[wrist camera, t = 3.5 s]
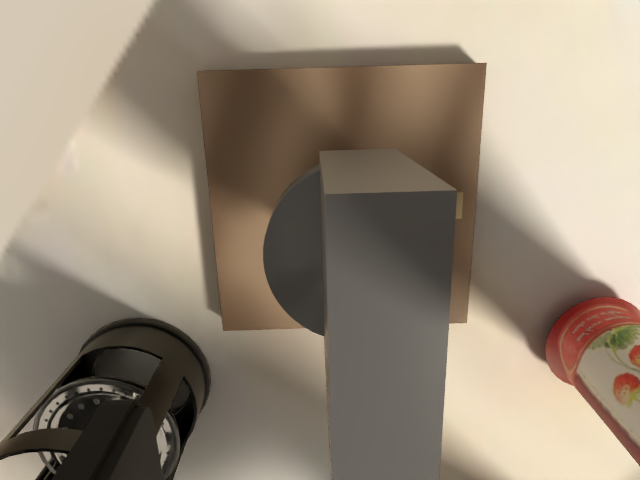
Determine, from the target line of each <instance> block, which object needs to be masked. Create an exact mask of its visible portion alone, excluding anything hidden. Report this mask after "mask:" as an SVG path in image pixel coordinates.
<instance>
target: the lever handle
mask: <svg viewBox="0 0 640 480" xmlns="http://www.w3.org/2000/svg"><path fill="white" fill-rule="evenodd" d="M319 163H320V164H317V165H315V166H314V167H312V168H310V169H308V170H306V171H305V172H304V173H302V174H301V175H299V176H298V177H297V178H296V179H295V180H294V181H293V182H292V183H291V184H290V185H289V186H288V187H287V188H286V190H285V191H284V192H283V193H282V195H281V196H280V198H279V200H278V201H277V203H276V205H275V207H274V210H273V212H272V215H271V218H270V221H269V224H268V227H267V230H266V234H265V238H264V245H263V264H264V271H265V275H266V278H267V282H268V284H269V287H270V289H271V291H272V293H273V295H274V297H275V298H276V300H277V302H278V303H279V304H280V306H281V307H282V308H283V309H284V311H285V312H286V313H287V314H288V315H289V316H290V317H291V318H293V319H294V320H295V321H296V322H298V323H299V324H300V325H302V326H303V327H305V328H307V329H309V330H311V331H312V332H315V333H317V334H320V335H322V336H324V345H325V368H326V388H327V408H328V428H329V448H330V468H331V480H439V472H440V457H441V441H442V425H443V409H444V393H445V378H446V362H447V346H448V330H449V314H450V299H451V283H452V267H453V251H454V236H455V220H456V204H457V190H456V189H455V188H453V187H452V186H450V185H449V184H447V183H446V182H444V181H443V180H441V179H440V178H438V177H437V176H435V175H434V174H432V173H431V172H429V171H428V170H426V169H425V168H423V167H422V166H420V165H419V164H417V163H416V162H414V161H413V160H411V159H410V158H408V157H407V156H405V155H404V154H402V153H401V152H399V151H398V150H396V149H366V150H332V151H319Z"/></svg>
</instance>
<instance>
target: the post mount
mask: <svg viewBox="0 0 640 480" xmlns="http://www.w3.org/2000/svg"><path fill="white" fill-rule="evenodd" d="M486 64H487V63H467V64H432V65H396V66H360V67H325V68H289V69H253V70H218V71H197V76H198V86H199V96H200V106H201V116H202V126H203V136H204V146H205V155H206V165H207V175H208V185H209V195H210V205H211V215H212V225H213V235H214V245H215V255H216V264H217V274H218V284H219V294H220V304H221V314H222V324H223V331H230V330H261V329H292V328H305V327H303V326H302V325H300V324H299V323H298V322H296V321H295V320H294V319H293V318H291V317H290V316H289V315H288V314H287V313H286V312H285V311H284V309H283V308H282V307H281V306H280V304H279V303H278V302H277V300H276V298H275V297H274V295H273V293H272V291H271V289H270V287H269V284H268V282H267V278H266V275H265V271H264V264H263V245H264V238H265V234H266V230H267V227H268V224H269V221H270V218H271V215H272V212H273V210H274V207H275V205H276V203H277V201H278V200H279V198H280V196H281V195H282V193H283V192H284V191H285V190H286V188H287V187H288V186H289V185H290V184H291V183H292V182H293V181H294V180H295V179H296V178H297V177H298V176H299V175H301V174H302V173H304V172H305V171H306V170H308V169H310V168H312V167H314V166H315V165H317V164H320V163H319V151H332V150H366V149H396V150H398V151H399V152H401V153H402V154H404V155H405V156H407V157H408V158H410V159H411V160H413V161H414V162H416V163H417V164H419V165H420V166H422V167H423V168H425V169H426V170H428V171H429V172H431V173H432V174H434V175H435V176H437V177H438V178H440V179H441V180H443V181H444V182H446V183H447V184H449V185H450V186H452V187H453V188H455V189H456V190H457V204H456V220H455V236H454V251H453V267H452V283H451V299H450V314H449V323H467V313H468V300H469V287H470V274H471V260H472V247H473V234H474V221H475V208H476V195H477V182H478V169H479V156H480V142H481V129H482V116H483V103H484V90H485V77H486Z"/></svg>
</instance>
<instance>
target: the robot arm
mask: <svg viewBox="0 0 640 480" xmlns="http://www.w3.org/2000/svg"><path fill="white" fill-rule="evenodd" d="M52 480H163V474H162V468H161V462H160V456H159V450H158V444H157V438H156V433H155V427H154V421H153V415H152V411H151V409H150V408H149V407H142V404H141V402H140V400H138V399H119V400H105V401H103V402H102V403H101V405H100V406H99V407H98V409H97V411H96V412H95V414H94V415H93V417H92V418H91V420H90V421H89V423H88V424H87V426H86V427H85V429H84V431H83V432H82V434H81V435H80V437H79V438H78V440H77V441H76V443H75V444H74V446H73V447H72V449H71V451H70V452H69V454H68V455H67V457H66V458H65V460H64V461H63V463H62V464H61V466H60V467H59V469H58V470H57V472H56V474H55V475H54V477H53V478H52Z"/></svg>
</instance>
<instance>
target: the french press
mask: <svg viewBox="0 0 640 480" xmlns="http://www.w3.org/2000/svg"><path fill="white" fill-rule="evenodd" d="M118 348H124V349H132V350H138V351H141V352H145V353H148V354H151V355H153V356H155V357H157V358H159V359H161V362H160V364H159V366H158V367H157V369H156V371H155V373H154V375H153V376H152V378H151V380H150V382H149V383H148V385H147V387H145V386H143V385H141V384H139V383H136V382H134V381H131V380H127V379H123V378H119V377H110V376H94V369H95V364H96V361H97V359H98V357H99V355H100V354H101V353H102V352H103V351H104V350H106V349H118ZM182 379H183V380H184V381H185V383H186V384H187V386H188V387H189V390H190V395H189V398H188V400H187V401H186V403H185V404H184V405H183V406H182V407H181V408H180V410H178V411H177V412H175V413H174V414H173V413H172V411H171V410H170V406H171V403H172V401H173V399H174V397H175V394H176V392H177V390H178V388H179V386H180V383H181V381H182ZM210 384H211V378H210V371H209V367H208V364H207V361H206V359H205V356H204V355H203V353H202V352H201V350H200V349H199V347H198V346H197V345H196V344H195V343H194V342H193V341H192V340H191V338H190V337H188V336H187V335H185V334H184V333H183V332H181V331H180V330H178V329H176V328H174V327H172V326H170V325H168V324H166V323H163V322H159V321H156V320H151V319H143V318H134V319H124V320H120V321H116V322H113V323H111V324H109V325H106V326H104V327H102V328H101V329H99V330H98V331H97V332H95V333H94V334H93V335H92V336H91V337H90V338H89V339H88V340H87V341H86V343H85V344H84V345H83V346H82V348H81V350H80V352H79V354H78V356H77V357H76V359H75V360H74V361H73V362H72V363H71V364H70V365H69V366H68V368H67V369H66V370H65V371H64V372H63V373H62V374H61V375H60V377H59V378H58V379H57V380H56V381H55V382H54V383H53V385H52V386H51V387H50V388H49V389H48V390H47V391H46V392H45V394H44V395H43V396H42V397H41V398H40V399H39V400H38V401H37V403H36V404H35V405H34V406H33V407H32V408H31V409H30V410H29V412H28V413H27V414H26V415H25V416H24V417H23V418H22V419H21V421H20V422H19V423H18V424H17V425H16V426H15V427H14V428H13V430H12V431H11V432H10V433H9V434H8V435H7V436H6V437H5V439H4V440H3V441H2V442H1V443H0V460H2V459H4V458H6V457H9V456H13V455H18V454H22V453H28V452H38V453H39V455H40V457H41V459H42V461H43V462H44V463H45V467H44V468H43V470H42V471H41V472H40V474H39V475H38V477H37V478H36V479H35V480H52V478H53V477H54V475H55V474H56V472H57V470H58V469H59V467H60V466H61V464H62V463H63V461H64V460H65V458H66V457H67V455H68V454H69V452H70V451H71V449H72V447H73V446H74V444H75V443H76V441H77V440H78V438H79V437H80V435H81V434H82V432H83V431H84V429H85V427H86V426H87V424H88V423H89V421H90V420H91V418H92V417H93V415H94V414H95V412H96V411H97V409H98V407H99V406H100V405H101V403H102V402H103V401H105V400H119V399H138V400H140V402H141V404H142V407H149V408H150V409H151V411H152V415H153V421H154V427H155V433H156V438H157V444H158V450H159V456H160V462H161V468H162V474H163V480H173V478H174V475H175V472H176V469H177V466H178V464H179V461H180V458H181V455H182V453H183V450H184V447H185V444H186V441H187V439H188V438H189V436H190V435H191V433H192V431H193V429H194V426H195V423H196V420H197V417H198V415H199V414H200V412H201V410H202V409H203V407H204V406H205V404H206V401H207V398H208V395H209V392H210ZM57 388H58V389H57ZM56 389H57V390H56ZM55 390H56V391H55ZM37 411H38V412H37ZM36 413H37V414H36ZM35 414H36V416H35V421H34V426H33V431H30V432H25V433H22V434H20V435H18V434H19V432H20V431H21V430H22V429H23V428H24V427H25V425H26V424H27V423H28V422H29V421H30V420H31V418H32V417H33V416H34V415H35ZM17 435H18V436H17Z"/></svg>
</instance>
